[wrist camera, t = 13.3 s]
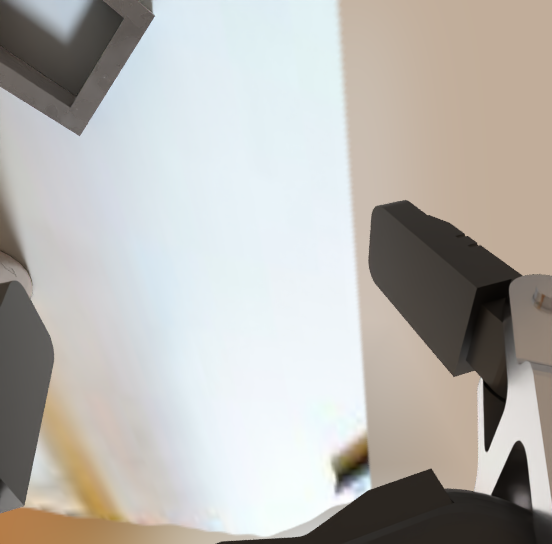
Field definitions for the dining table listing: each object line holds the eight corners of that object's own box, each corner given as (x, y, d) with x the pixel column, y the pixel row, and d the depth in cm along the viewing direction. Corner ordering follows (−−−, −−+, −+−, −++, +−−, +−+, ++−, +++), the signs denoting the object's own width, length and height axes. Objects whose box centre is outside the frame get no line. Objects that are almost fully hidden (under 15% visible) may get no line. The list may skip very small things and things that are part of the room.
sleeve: (84, 122, 36) (79, 136, 33) (-58, 31, 30) (-81, 36, 27) (152, 13, 33) (154, 15, 30) (9, -112, 27) (-7, -125, 24)
